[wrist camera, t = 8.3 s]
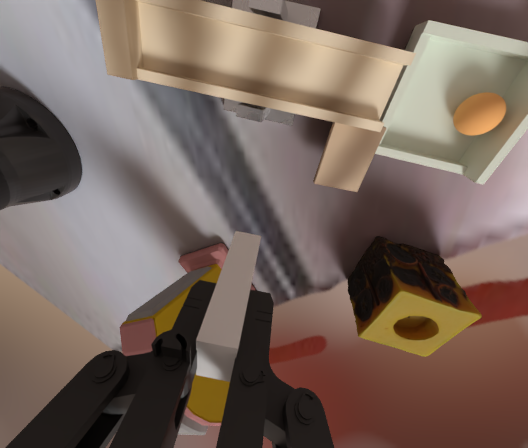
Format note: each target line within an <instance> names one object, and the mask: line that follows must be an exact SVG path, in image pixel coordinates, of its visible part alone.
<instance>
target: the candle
mask: <svg viewBox="0 0 528 448" xmlns="http://www.w3.org/2000/svg"><path fill="white" fill-rule="evenodd" d="M348 293H349V295H350V300H351V303H352V306H353V311H354V315H355V318H356V321H355V322H356V325H357V332H358V336H359V337H361V338H364V339H367V340H371V341H374V342H377V343H380V344H384V345H388V346H391V347H394V348H398V349H401V350H404V351H407V352H411V353H414V354H417V355H420V356H428V355H430V354H432V353H433V352H434V351H435V350H437V349H438V348H439V347H440V346H441V345H443V344H444V343H446V342H447V341H449V340H450V339H451V338H453V337H454V336H455V335H456V334H458V333H459V332H460V331H462V330H463V329H465V328H466V327H468V326H469V325H471V324H472V323H474V322H475V321H477V320H478V319H480V318H481V316H482V315H481V314H480V313H479V311H478V310H477V309H476V308H475V307H474V305H473V304H472V303H471V302H470V300H469V299H468V297H467V295H466V293H465V291H464V290H463V289H462V288H461V287H460V286H459V284H458V283H457V281H456V279H455V277H454V276H453V273H452V272H451V270H450V269H449V267H448V266H447V265H445V264H444V259H442V258H441V257H440V256H438V255H435V254H432V253H428V252H426V251H424V250H421V249H417V248H414V247H412V246H409V245H404V244H395V243H393V242H390V241H388V240H387V239H384V238H383V237H376V238H375V241H374V242H373V243H372V244H371V247H369V248H368V249H367V251H366V253H365V254H364V256H363V257H362V258H361V260H360V262H359V263H358V265H357V266H356V269H355V270H354V272H353V274H352V275H351V276H350V277H349V278H348Z"/></svg>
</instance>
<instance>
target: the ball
mask: <svg viewBox="0 0 528 448" xmlns="http://www.w3.org/2000/svg"><path fill="white" fill-rule="evenodd" d="M505 113H506V103H505V101H504V99H503V98H502V97H501V96H499V95H498V94H495V93H490V92H484V93H479V94H476V95H473V96H471V97H469V98H467V99H466V100H465V101H463V102H462V103H461V104H460V105H459V106H458V108H457V109H456V111H455V113H454V117H453V123H454V126H455V128H456V129H457V130H458V131H459V132H460V133H462V134H465V135H471V136H473V135H480V134H484V133H486V132H488V131H490V130H492V129H493V128H495V127H496V126H497V125H498V124H499V123H500V122H501V121H502V119H503V118H504V116H505Z"/></svg>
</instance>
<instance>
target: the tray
mask: <svg viewBox="0 0 528 448" xmlns="http://www.w3.org/2000/svg"><path fill="white" fill-rule="evenodd" d="M405 51H409V52H413V53H416V55H415V57H414V59H413V62H412V64H411V65H403V68H402V70H401V72H400V74H399V77H398V79H397V81H396V83H395V86H394V88H393V90H392V93H391V95H390V97H389V99H388V102H387V104H386V106H385V109H384V111H383V113H382V115H381V118H380V121H381V122H383V123H384V125H383V126H384V127H386V131H385V133H384V135H383V137H382V139H381V141H380V144H379V146H378V148H377V150H376V152H375V154H379V155H383V156H387V157H391V158H396V159H400V160H404V161H408V162H412V163H417V164H421V165H425V166H429V167H433V168H438V169H442V170H446V171H450V172H454V173H459V174H463V175H464V176H466V177H467V178H469V179H470V180H472V181H473V182H475V183H478V184H483V185H484V183H485V182H486V181H487V179H488V178H489V177H490V176H491V174H492V173H493V172H494V171H495V169H496V168H497V167H498V166H499V164H500V163H501V162H502V161H503V159H504V158H505V157H506V155H507V154H508V153H509V152H510V150H511V149H512V148H513V147H514V145H515V144H516V143H517V142H518V140H519V139H520V138H521V136H522V135H523V134H524V133H525V131H526V130H527V129H528V42H524V41H520V40H515V39H511V38H506V37H502V36H497V35H493V34H489V33H484V32H480V31H475V30H471V29H466V28H462V27H457V26H453V25H449V24H444V23H440V22H435V21H431V20H428V21H425V22H423V23H420V24H418V25H416V26H415V27H414V30H413V32H412V34H411V37H410V39H409V41H408V44H407V46H406V48H405ZM484 92H490V93H495V94H498V95H499V96H501V97H502V98H503V99H504V101H505V103H506V113H505V116H504V118H503V119H502V121H501V122H500V123H499V124H498V125H497V126H496V127H495V128H493V129H492V130H490V131H488V132H486V133H484V134H480V135H473V136H471V135H465V134H462V133H460V132H459V131H458V130H457V129H456V128H455V126H454V123H453V117H454V113H455V111H456V109H457V108H458V106H459V105H460V104H461V103H462V102H463V101H465V100H466V99H467V98H469V97H471V96H473V95H476V94H479V93H484Z"/></svg>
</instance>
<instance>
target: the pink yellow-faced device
mask: <svg viewBox="0 0 528 448" xmlns="http://www.w3.org/2000/svg"><path fill="white" fill-rule="evenodd" d="M227 254H228V249H227V248H226V246H225V245H224V244H223V243H219V244H216V245H213V246H210V247H207V248H204V249H201V250H198V251H195V252H192V253H189V254H186V255H183V256H181V257H180V259H179V263H180V264H181V266H182V267H183V268H184V269H185V270H186V272H187V274H186V275H185V276H183V277H182V278H180V279H179V280H177V281H176V282H175V283H173V284H172V285H170V286H169V287H168V288H166V289H165V290H163V291H162V292H160V293H159V294H158V295H156V296H155V297H153V298H152V299H151V300H149V301H148V302H146V303H145V304H143V305H142V306H141V307H139V308H138V309H136V310H135V311H134V312H132V313H131V314H129V315H128V317H127V319H126V321H125V322H123V323H122V325H121V327H120V334H121V343H122V352H123V354H124V355H125V356H130V355H137V354H144V353H148V352H151V351H153V350H152V345H151V344H152V342H153V341H154V340H155V338H156V337H157V336H159V335H160V334H162V333H163V332H166V331H169V330H171V329H172V327H173V325H174V323H175V321H176V319H177V316H178V314H179V312H180V310H181V308H182V307H183V304H184V302H185V300H186V298H187V295H188V293H189V291H190V289H191V287H192V286H193V285H194V284H195V283H196V282H198V281H199V280H203V281H208V282H213V283H217V281H218V279H219V276H220V273H221V270H222V268H223V265H224V262H225V259H226V256H227ZM250 290H255V288H254V287H253V285H252V284H251V289H250ZM255 291H256V290H255ZM229 384H230V382H228V381H223V380H218V379H213V378H208V377H203V376H199V375H196V373H195V376H194V379H193V382H192V389H191V394H190V397H189V401H188V404H187V407H186V410H185V413H184V416H183V419H182V423H181V426H180V429H179V432H178V434H184V435H205V434H206V431H207V428H208V426H210V425H211V426H213V425H214V426H221V422H222V418H223V413H224V408H225V403H226V399H227V394H228V389H229Z"/></svg>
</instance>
